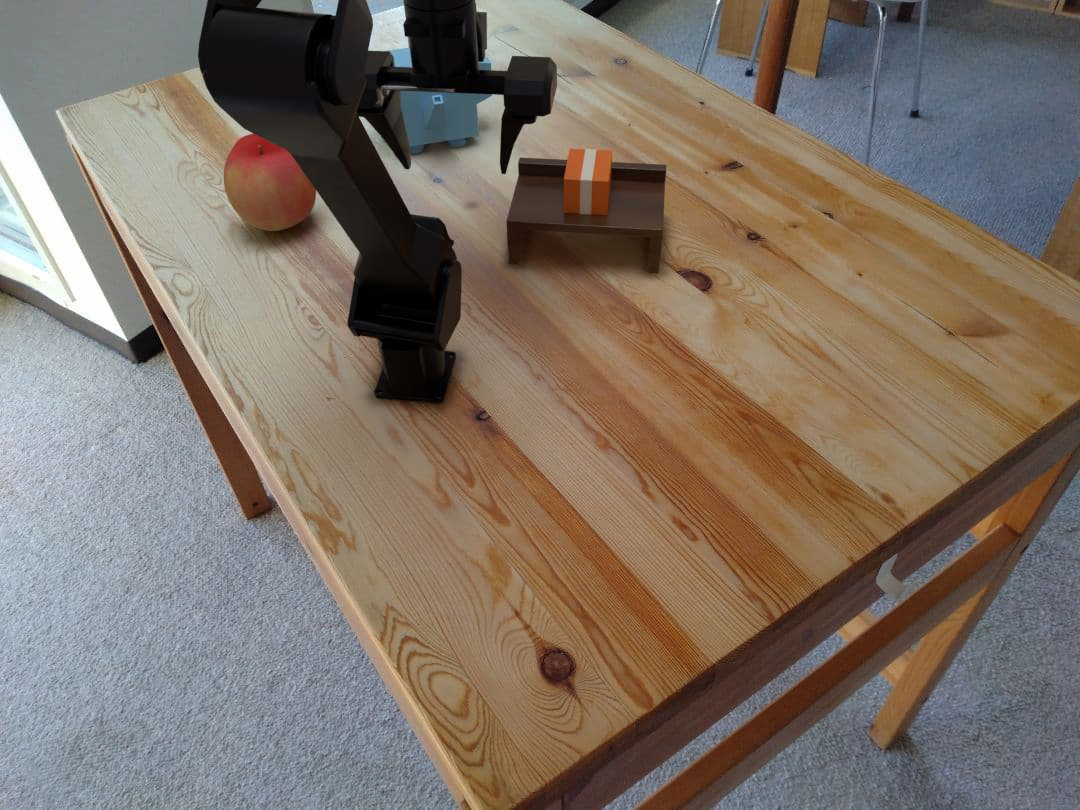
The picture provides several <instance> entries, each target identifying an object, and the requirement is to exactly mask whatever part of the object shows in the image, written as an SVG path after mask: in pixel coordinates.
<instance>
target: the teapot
mask: <svg viewBox="0 0 1080 810" xmlns="http://www.w3.org/2000/svg"><path fill="white" fill-rule="evenodd" d="M407 44H408V45H407V47H405V48H398V49H390V50H388V51H390V53H391V54H392V55H393V57H394V63H395V67H412V63H411V55H410V47H409V40H408V39H407ZM479 70H492V62H491V59H489V57H488V56H487V57H486V56H485V58H484V61H483V62H479ZM400 92H401V109H402V114H403V118H404V123H405V127H406V132H407V136H408V141H409V146H410V152H411V154H419V153H421V152H423V151H424V146H425V145H427V144H435V143H441V142H447V143H448V145H449V146H451V147H456V148H457V147H462V146H464V145H466V143H467V140H466V139H467V138H473V137H478V136H480V131H479V129H480V128H479V119H478V118H479V117H478V116H479V115H478V105H479V104H480V103H482V102H484V101H486V100H487V99H489V98H491V97H492V96H493V94H469V93H445V92H421V91H400Z"/></svg>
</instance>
